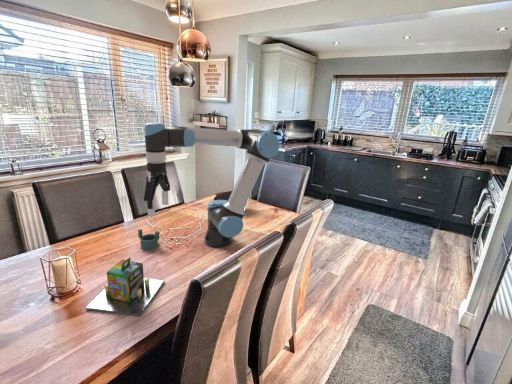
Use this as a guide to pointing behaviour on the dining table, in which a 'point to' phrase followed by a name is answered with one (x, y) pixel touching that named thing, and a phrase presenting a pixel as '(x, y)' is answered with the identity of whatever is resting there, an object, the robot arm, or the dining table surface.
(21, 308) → the dining table surface
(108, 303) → the plate
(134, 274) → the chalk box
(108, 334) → the dining table surface
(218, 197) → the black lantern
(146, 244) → the green pot
